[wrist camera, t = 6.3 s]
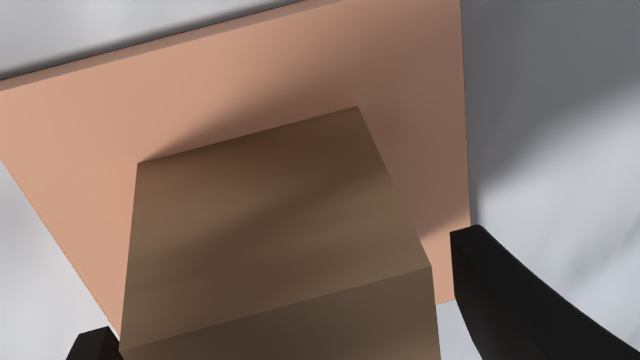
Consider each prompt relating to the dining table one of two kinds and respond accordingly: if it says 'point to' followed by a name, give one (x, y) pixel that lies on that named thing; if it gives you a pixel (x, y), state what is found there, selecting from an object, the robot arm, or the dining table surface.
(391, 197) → the walnut cube
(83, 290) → the dining table surface
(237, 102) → the terracotta tile
